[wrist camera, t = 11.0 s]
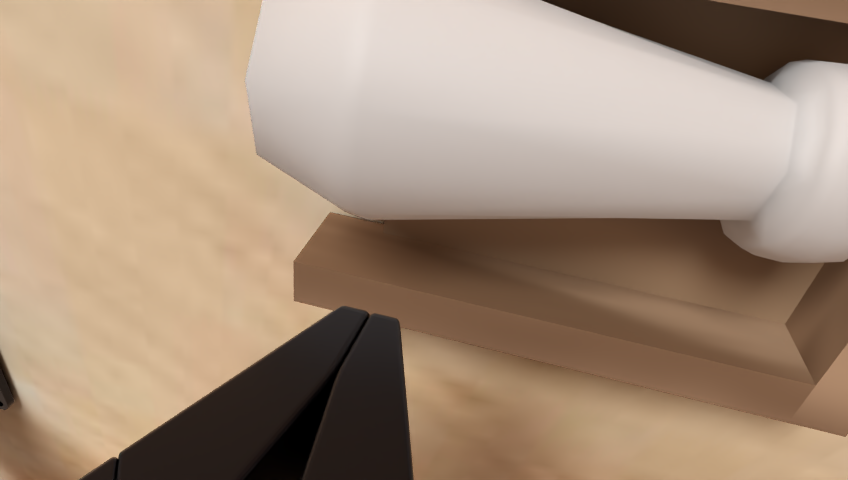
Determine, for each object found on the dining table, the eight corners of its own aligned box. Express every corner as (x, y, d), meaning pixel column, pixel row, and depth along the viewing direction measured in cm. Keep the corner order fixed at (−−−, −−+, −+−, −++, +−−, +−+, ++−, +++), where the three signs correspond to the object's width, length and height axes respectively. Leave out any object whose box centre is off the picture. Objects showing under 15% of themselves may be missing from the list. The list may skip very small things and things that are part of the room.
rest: (806, 360, 18) (845, 436, 15) (328, 248, 19) (293, 300, 17) (1088, -38, 11) (1235, -19, 9) (343, -149, 13) (291, -158, 11)
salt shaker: (300, 194, 16) (759, 280, 15) (209, 211, 10) (935, 349, 10) (331, -21, 15) (819, 63, 14) (252, -132, 9) (1050, -2, 9)
